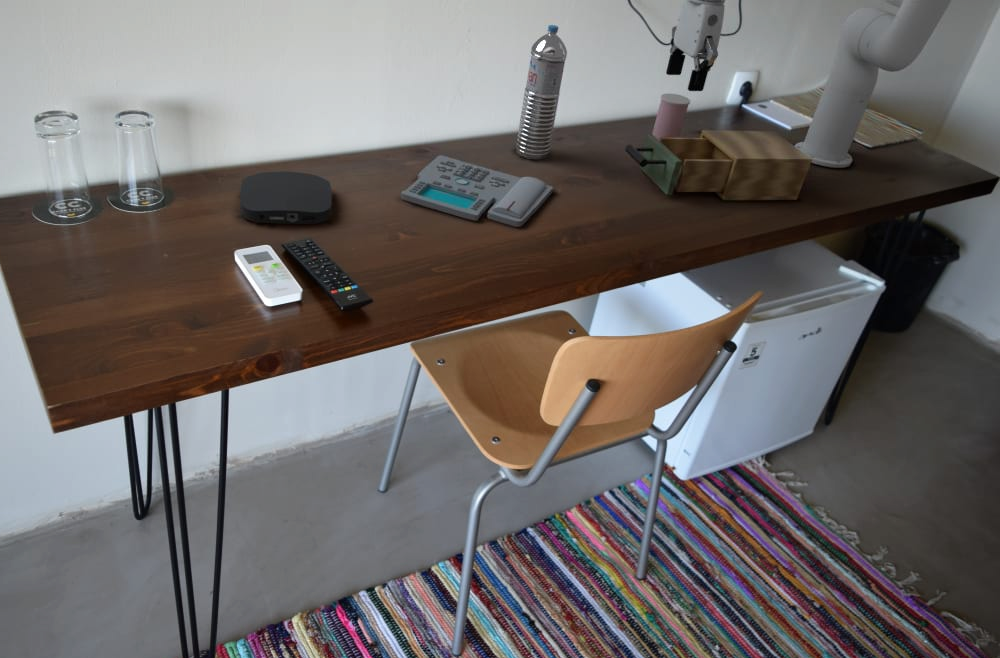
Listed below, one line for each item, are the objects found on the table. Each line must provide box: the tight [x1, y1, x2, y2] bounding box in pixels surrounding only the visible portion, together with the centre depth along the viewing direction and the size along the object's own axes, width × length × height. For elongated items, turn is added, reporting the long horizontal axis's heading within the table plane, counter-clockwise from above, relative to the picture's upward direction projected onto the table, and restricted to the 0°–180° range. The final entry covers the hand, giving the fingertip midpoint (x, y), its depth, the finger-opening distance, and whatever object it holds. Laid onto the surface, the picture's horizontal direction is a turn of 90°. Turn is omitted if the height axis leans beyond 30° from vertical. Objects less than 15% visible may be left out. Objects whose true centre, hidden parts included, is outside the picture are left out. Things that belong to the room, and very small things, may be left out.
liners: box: [651, 93, 691, 140], centre depth 169 cm, size 6×6×12 cm
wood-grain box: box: [699, 129, 812, 201], centre depth 161 cm, size 17×14×9 cm
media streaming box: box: [239, 171, 333, 225], centre depth 134 cm, size 15×15×3 cm
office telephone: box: [400, 154, 554, 228], centre depth 145 cm, size 23×3×20 cm
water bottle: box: [515, 24, 568, 161], centre depth 157 cm, size 7×7×25 cm
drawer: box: [624, 134, 734, 196], centre depth 157 cm, size 21×13×7 cm, turn 104°
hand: (683, 82), depth 163 cm, fingers open, 9 cm apart
